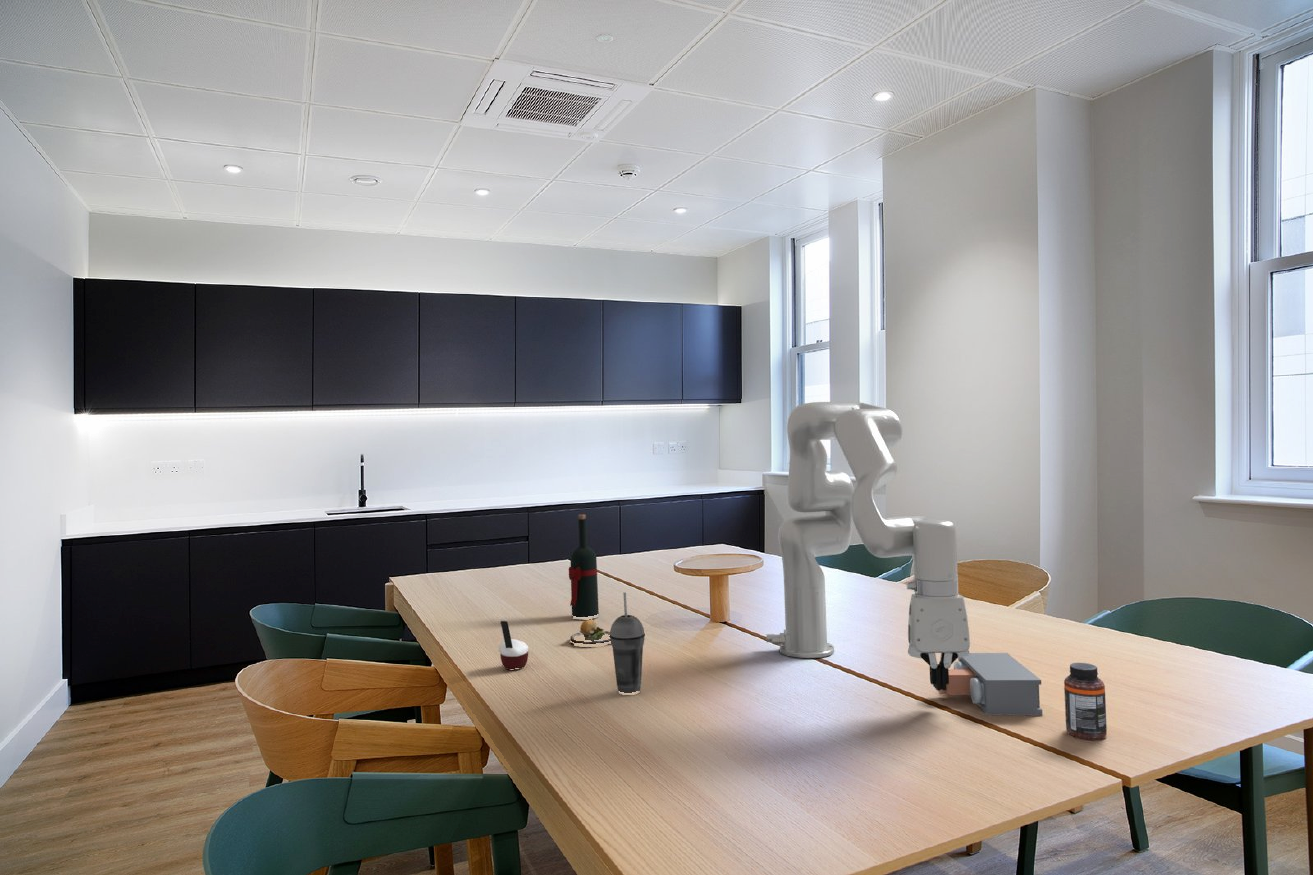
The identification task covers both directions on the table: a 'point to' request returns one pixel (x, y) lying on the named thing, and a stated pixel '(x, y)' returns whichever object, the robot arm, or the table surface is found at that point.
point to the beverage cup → (627, 651)
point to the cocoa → (512, 650)
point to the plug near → (977, 691)
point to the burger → (590, 633)
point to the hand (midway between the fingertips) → (939, 688)
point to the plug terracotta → (958, 681)
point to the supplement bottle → (1085, 702)
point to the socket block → (1005, 684)
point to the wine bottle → (583, 576)
